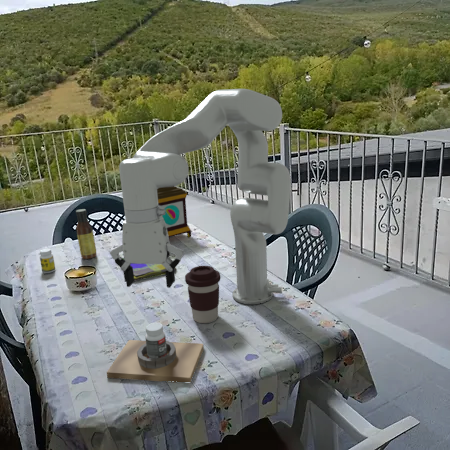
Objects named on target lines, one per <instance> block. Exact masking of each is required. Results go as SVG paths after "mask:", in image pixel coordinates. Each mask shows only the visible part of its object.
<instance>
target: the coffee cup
mask: <svg viewBox="0 0 450 450" xmlns="http://www.w3.org/2000/svg"><path fill="white" fill-rule="evenodd" d="M184 279H185V280H184V282H185V284H187V292H188V293H187V294H188V298H189V304H190V308H191V313H192V318H193V320H194V321H195V322H197V323H198V324H209V323H210V324H211V323H212V322H214V321H216V320H217V319H218V317H219V304H220V284H219V282H220V281H221V273H220V271H218V270H216V269H215V268H214V267H213V266H210V265H197V266H194V267H192V268H191V269H190V270H189V271H188V272H187V273H186V274H185V276H184Z"/></svg>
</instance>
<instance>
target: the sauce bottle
mask: <svg viewBox="0 0 450 450" xmlns="http://www.w3.org/2000/svg"><path fill="white" fill-rule="evenodd" d="M87 213H88V211H87V209H85V208H82V209H81V208H80V209H76V210H75V214H76V216H77V217H76V218H77V225H76V226H75V229H76V237H77V242H78V246H79V252H80V255H81V258H82V259H84V260H90V259H94V258H95V257H97V254H98V253H97V247H96V243H95V237H94V230H93V229H94V228H93V227H92V225H91V223H90V221H89V219H88V215H87Z"/></svg>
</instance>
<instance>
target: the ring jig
mask: <svg viewBox="0 0 450 450" xmlns="http://www.w3.org/2000/svg"><path fill="white" fill-rule="evenodd" d="M166 348H167V355H165V356H164V357H161V358H157V359H151V358H148V356H147V347H146V340H139V339H137V340H136V339H129V340H127V342H126V344H125V345H124V347H122V349H121V350H120V352H119V354H118V355H117V356H116V358H115V360H114V361H113V362H112V364H111V366H110V367H109V368H108V369H107V371H106V376H107V378H108V379H118V380H119V379H122V380H135V381H148V382H149V381H151V382H162V381H167V382H166V383H169V382H168V381H171V382H170V383H177V382H191V383H192V381H191V379H192V380H193V378H192V377H194V376H195V373H194V372H196V370H197V367H198V364H199V363H200V359H201V358H202V354H203V352H204V349H205V346H204V343H200V342H199V343H197V342H196V343H195V342H176V341H169V340H166ZM193 375H194V376H193ZM172 381H174V382H172ZM176 381H177V382H176Z"/></svg>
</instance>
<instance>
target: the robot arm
mask: <svg viewBox="0 0 450 450" xmlns="http://www.w3.org/2000/svg"><path fill="white" fill-rule="evenodd" d="M282 119H283V111H282V107H281V104H280V103H279V102H278V100H276V99H275V98H273V97H271V96H268V95H266V94H263V93H260V92H258V91H255V90H251V89H248V88H230V89H227V88H226V89H217V90H215V91H212V92H211V93H209V94H208V96H206V97H205V99H204V100H202V101H201V103H199V104H198V105H197V106H196V108H195V109H193V111H192V112H190V114H188V115H187V116H186V118H185V119H183V120H181V121H179V122H177V123H175V124H173V125H171V126H169V127H168V128H166V129H164V130H162V131H160V132H158V133H157V134H155V135H153V136H152V137H151V138H149V139H148V140H147V141H146V142H144V144H143V145H142V146H141V147H140V148H139V149H138V150H137V151H136V152H135V154H134V155H133V156H132V158H131V157H130V158H125V159H123V160H122V161H121V162H120V163H119V166H118V171H119V178H120V185H121V194H122V195H121V196H122V200H123V201H122V202H123V210H124V218H125V219H124V220H123V222H122V223H123V224H122V235H121V239H122V241H121V243H122V244H121V245H118V246H117V247H115V248H114V249H112V250H111V251H110V252H109V254H110V256H111V258H112V259H113V260H114V263H115V264H116V265H117V266H118V267H120V271H122V272H123V278H124V282H125V285H126V287H127V288H130V287H131V286H132V285H133V284H134V283H135V281H134V274H133V267H132V266H130V265H131V264H162V265H163V266H164V267H165V268H166V269H167V271H166V273H165V283H166V287H167V288H168V289H171V287H172V285H174V284H173V283H175V282H176V277H175V276H176V275H175V273H176V272H175V273H174V268H176V267H177V266H178V265H180V262H181V260H182V259H183V256H184V254H185V251H184V250H183V249H181V248H179V247H177V246H175V245H172V244H171V242H170V238H169V237H168V232H167V228H166V224H165V221H164V218H162V217H160V216H162V215H165V209H161V208H160V205H158V195H157V189H158V188H162V187H173V186H175V187H177V186H179V185H181V184H182V183H183V182H185V181H186V179H187V177H188V174H189V170H190V169H189V164H188V161H187V160H186V159H185V158H184V157H183V156H181V155H183V154H187V153H191V152H195V151H196V152H197V151H199V150H201V149H204V148H206V147H208V146H210V144H211V143H213V142H214V140H215V139H216V138H217V137H218V136H219V134H220V133H221V132H222V131H223V129H224V128H226V127H227V126H228V127H229V128H230V129H231V130H232V132H233V133H234V135H235V137H236V139H237V143H238V162H237V187H238V189H239V190H240V191H241V192H243V193H245V194H252V195H258V196H259V195H260V196H266V197H267V200H266V199H261V198H252V197H243V198H238V199H237V200H235V201H234V202H233V204H232V206H231V207H230V212H229V213H230V222H231V225H232V229H233V234H234V243H235V245H234V249H235V266H236V267H235V269H236V272H235V273H236V288H235V289H233V290H232V299H233V300H235V302H238V303H239V304H243V305H244V304H245V305H260V303H261V304H263V303H266V301H267V302H268V301H270V300H271V299H272V298H273V295H272V294H282V293H283V292H282V291H283V290H282V289H283V288H282V286H279V284H277V283H276V284H275V283H274V284H272V283H270V279H269V278H268V263H267V261H268V259H267V258H268V257H267V255H268V254H267V251H268V250H267V249H268V248H267V240H266V238H265V235H264V234H269V235H279V234H281V233H283V232H284V231H285V230H286V227H287V226H288V221H289V213H290V202H291V201H290V200H291V199H290V197H291V188H292V187H291V185H292V184H291V183H292V181H291V174H290V170H289V169H288V167H287V166H286V165H284V164H282V163H279V162H269V159H268V158H269V144H268V140H267V138H266V136H265V134H264V132H269V131H274V130H275V129H277V128H278V127H279V126H280V124H281V122H282ZM263 131H264V132H263ZM120 253H123V255H122V256H123V257H122V256H121V255H120ZM171 254H174V255H175V258H174V260H172V258H171V257H170V256H171ZM123 258H124V259H123Z"/></svg>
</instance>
